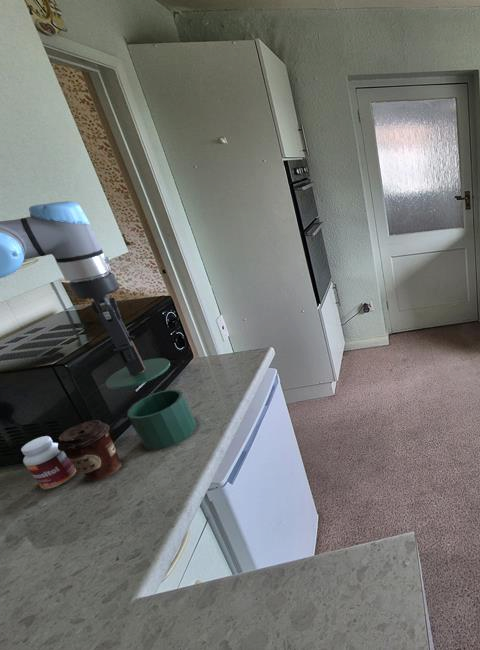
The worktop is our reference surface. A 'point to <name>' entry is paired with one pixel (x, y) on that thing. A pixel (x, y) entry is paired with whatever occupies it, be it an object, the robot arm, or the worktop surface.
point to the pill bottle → (47, 462)
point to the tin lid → (127, 380)
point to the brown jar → (90, 449)
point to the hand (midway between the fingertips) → (137, 368)
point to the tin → (162, 419)
